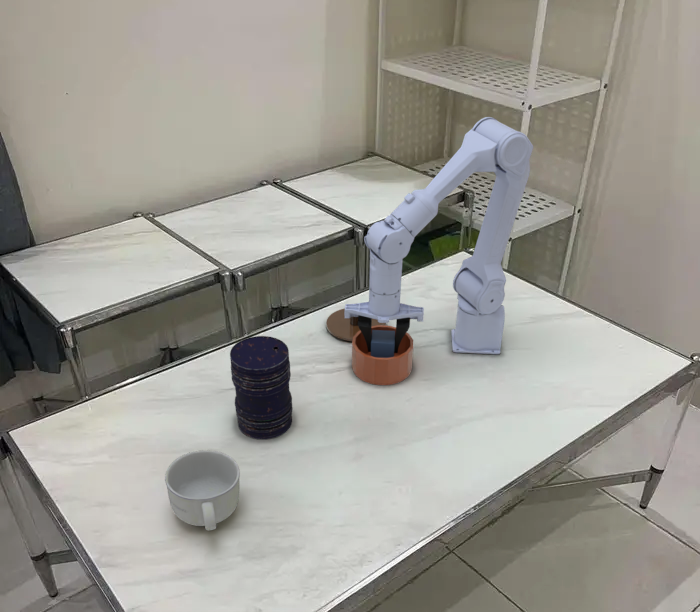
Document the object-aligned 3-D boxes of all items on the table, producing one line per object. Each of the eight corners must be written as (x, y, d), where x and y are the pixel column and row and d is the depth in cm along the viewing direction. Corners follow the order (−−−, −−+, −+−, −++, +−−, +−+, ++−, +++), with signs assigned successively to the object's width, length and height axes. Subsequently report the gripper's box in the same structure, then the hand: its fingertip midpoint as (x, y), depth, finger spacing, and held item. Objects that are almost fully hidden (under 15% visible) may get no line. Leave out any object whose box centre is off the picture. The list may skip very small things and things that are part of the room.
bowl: (411, 351, 145) (413, 326, 142) (411, 386, 136) (413, 360, 132) (354, 349, 146) (354, 324, 142) (350, 383, 137) (350, 357, 133)
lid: (386, 312, 157) (387, 294, 154) (384, 345, 147) (385, 326, 144) (329, 310, 158) (329, 292, 155) (323, 342, 148) (323, 323, 145)
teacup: (176, 486, 115) (169, 449, 110) (245, 482, 116) (240, 445, 111) (166, 555, 104) (157, 518, 99) (241, 551, 105) (236, 513, 100)
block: (394, 349, 141) (395, 330, 138) (393, 362, 137) (394, 343, 135) (371, 348, 141) (372, 329, 138) (370, 361, 138) (371, 342, 135)
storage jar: (247, 446, 123) (239, 376, 113) (229, 412, 130) (221, 344, 121) (301, 430, 126) (298, 360, 117) (281, 398, 133) (277, 330, 124)
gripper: (343, 296, 127) (343, 359, 136) (425, 300, 127) (420, 363, 135) (346, 277, 133) (346, 338, 141) (425, 280, 132) (420, 342, 140)
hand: (382, 349), depth 138 cm, fingers closed on block, 4 cm apart
